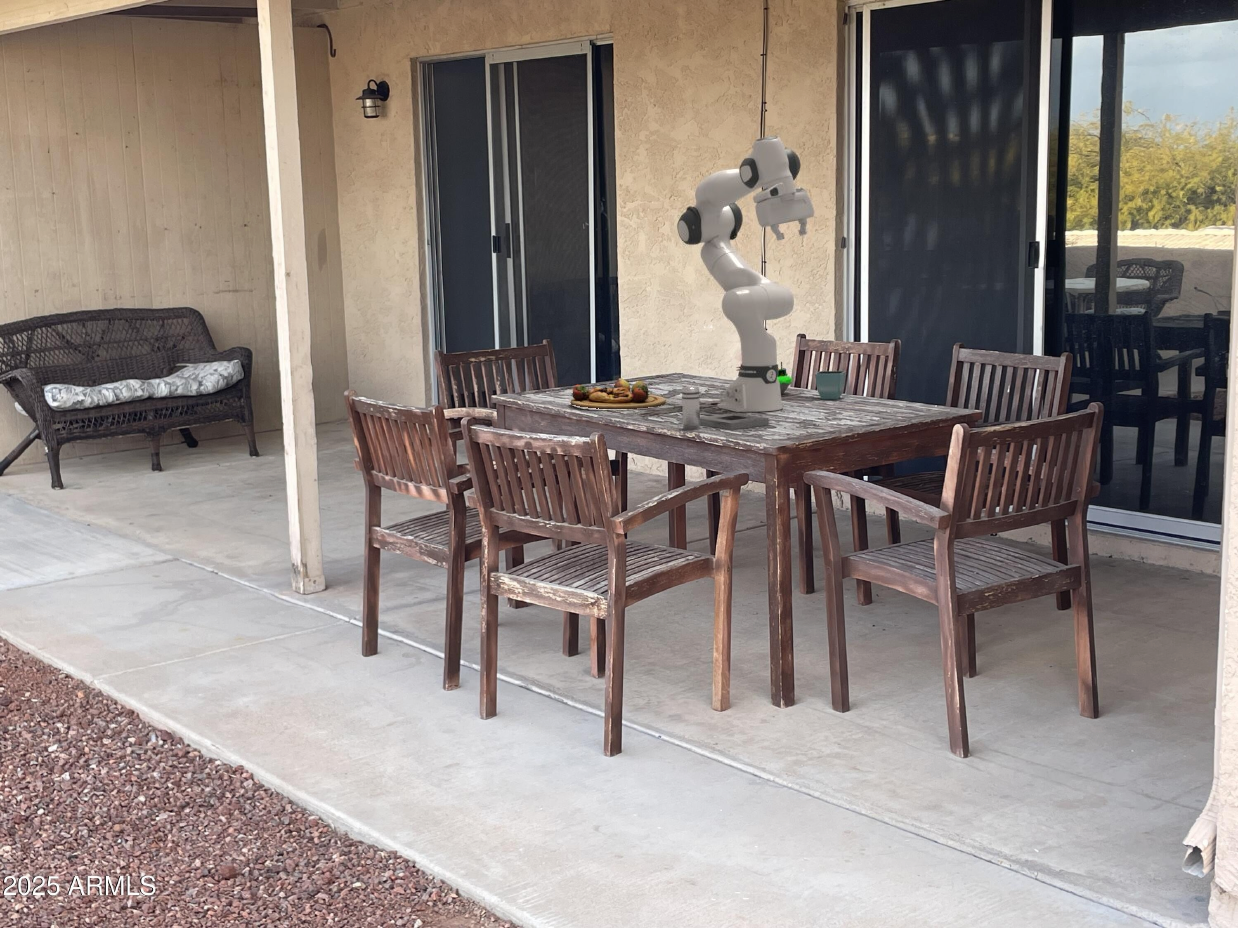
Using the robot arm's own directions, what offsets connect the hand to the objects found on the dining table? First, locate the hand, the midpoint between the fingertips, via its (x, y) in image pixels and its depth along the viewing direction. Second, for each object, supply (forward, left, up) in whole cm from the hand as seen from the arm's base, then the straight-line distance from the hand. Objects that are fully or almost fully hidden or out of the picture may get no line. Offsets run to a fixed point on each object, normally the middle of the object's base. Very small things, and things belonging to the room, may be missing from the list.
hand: (792, 237), depth 400 cm
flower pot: (-30, +42, -54) cm, 75 cm away
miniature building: (-54, +38, -54) cm, 85 cm away
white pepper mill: (-11, -30, -54) cm, 63 cm away
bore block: (-8, -17, -54) cm, 57 cm away
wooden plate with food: (-73, -14, -55) cm, 92 cm away
